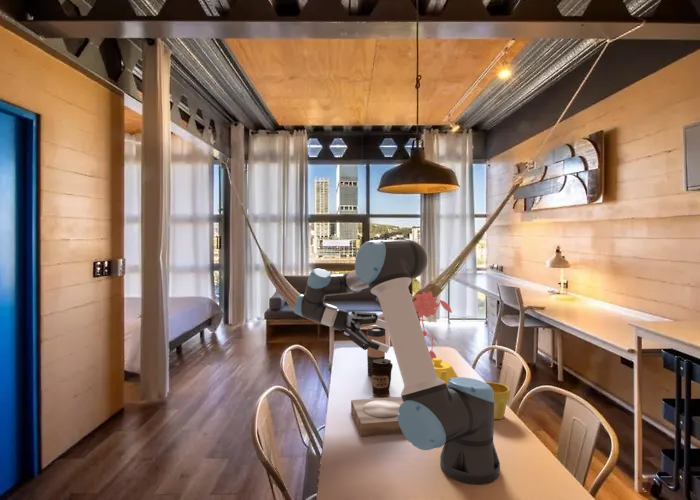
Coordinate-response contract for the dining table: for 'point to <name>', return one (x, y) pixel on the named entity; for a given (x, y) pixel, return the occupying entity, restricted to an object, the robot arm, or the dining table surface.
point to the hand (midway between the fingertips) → (390, 338)
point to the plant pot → (499, 398)
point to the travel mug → (374, 354)
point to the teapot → (443, 370)
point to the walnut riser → (377, 415)
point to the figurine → (428, 309)
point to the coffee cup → (381, 377)
